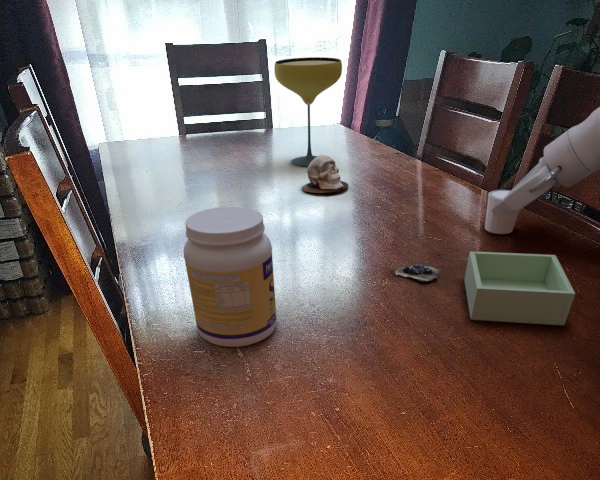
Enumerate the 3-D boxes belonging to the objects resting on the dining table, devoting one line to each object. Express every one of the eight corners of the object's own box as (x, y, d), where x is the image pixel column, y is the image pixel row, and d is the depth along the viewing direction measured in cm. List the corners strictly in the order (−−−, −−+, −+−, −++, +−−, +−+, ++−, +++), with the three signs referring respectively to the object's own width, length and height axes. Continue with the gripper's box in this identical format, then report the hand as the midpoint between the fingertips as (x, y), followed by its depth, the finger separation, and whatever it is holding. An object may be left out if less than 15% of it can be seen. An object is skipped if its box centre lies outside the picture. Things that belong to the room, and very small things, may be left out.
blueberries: (436, 286, 87) (437, 275, 86) (389, 280, 89) (390, 270, 88) (441, 269, 92) (443, 260, 91) (397, 264, 94) (398, 254, 93)
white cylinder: (519, 226, 107) (528, 192, 103) (511, 237, 103) (519, 202, 98) (487, 220, 110) (494, 187, 106) (477, 231, 106) (484, 196, 101)
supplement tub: (286, 342, 75) (280, 228, 64) (203, 357, 72) (183, 241, 62) (266, 303, 84) (258, 199, 73) (192, 316, 81) (173, 209, 71)
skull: (361, 183, 129) (342, 156, 121) (337, 217, 130) (316, 192, 122) (331, 171, 137) (311, 145, 129) (309, 204, 138) (287, 180, 130)
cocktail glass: (277, 155, 157) (271, 59, 142) (334, 152, 159) (336, 56, 143) (281, 172, 143) (276, 66, 128) (345, 168, 145) (347, 63, 129)
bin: (546, 284, 87) (555, 254, 83) (564, 325, 76) (575, 293, 73) (464, 280, 89) (469, 251, 85) (470, 319, 78) (477, 288, 75)
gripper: (563, 191, 87) (493, 236, 98) (585, 162, 100) (521, 204, 111) (543, 160, 86) (475, 209, 97) (567, 135, 100) (505, 180, 110)
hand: (500, 206), depth 104 cm, fingers closed on white cylinder, 7 cm apart
